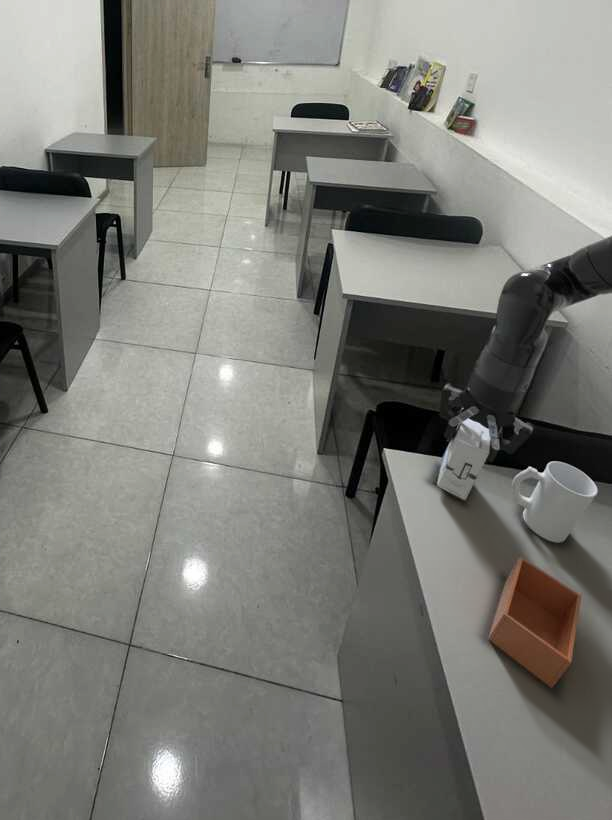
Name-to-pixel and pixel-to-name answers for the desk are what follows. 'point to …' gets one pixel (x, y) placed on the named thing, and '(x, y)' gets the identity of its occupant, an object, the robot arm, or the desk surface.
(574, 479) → the mug
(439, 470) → the pad
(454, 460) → the ink box
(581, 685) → the desk surface
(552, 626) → the open box
